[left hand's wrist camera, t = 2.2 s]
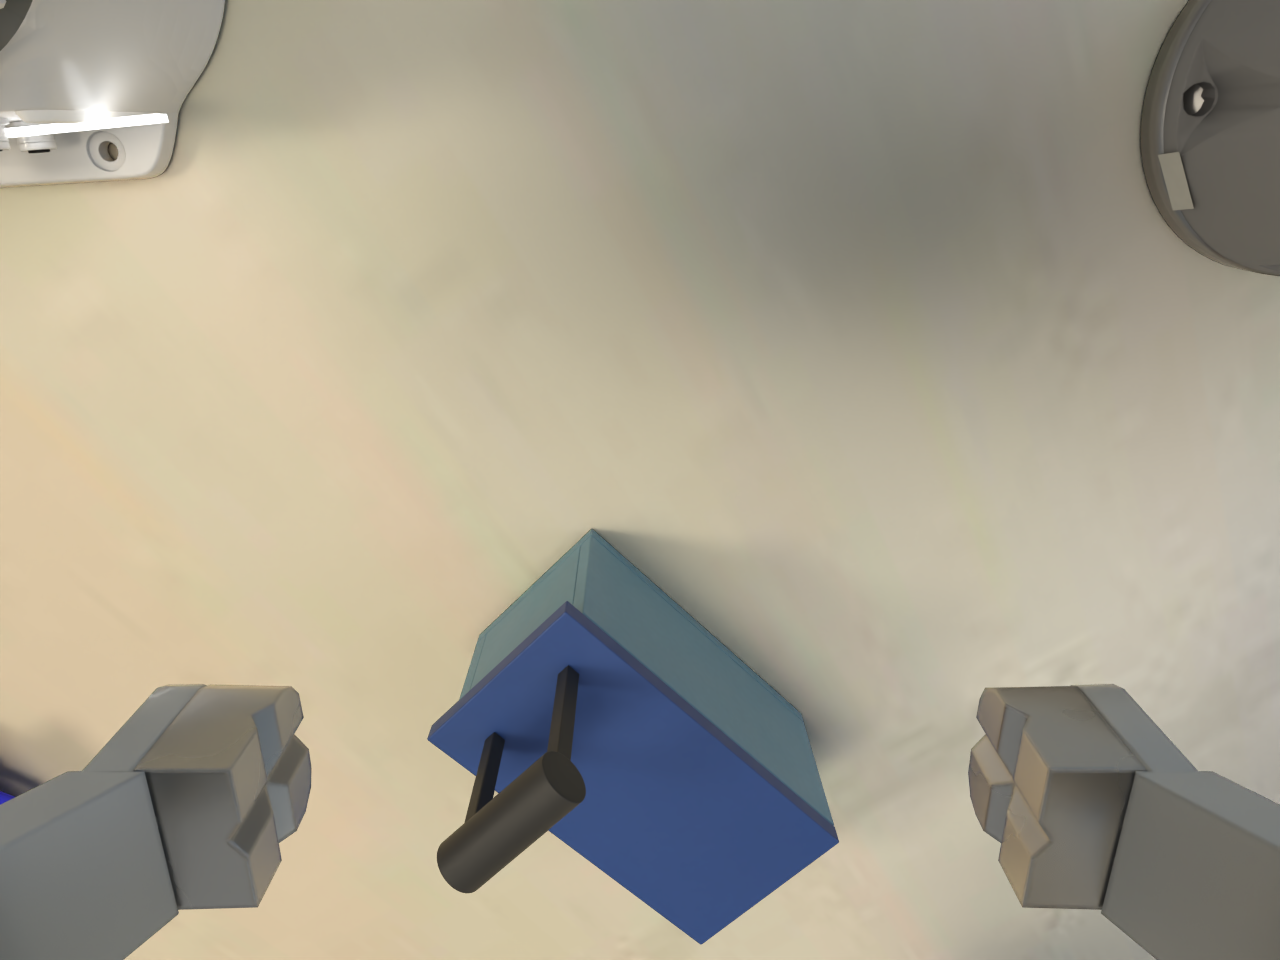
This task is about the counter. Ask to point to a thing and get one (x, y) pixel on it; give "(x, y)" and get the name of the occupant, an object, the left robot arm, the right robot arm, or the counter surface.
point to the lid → (618, 782)
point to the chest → (662, 657)
